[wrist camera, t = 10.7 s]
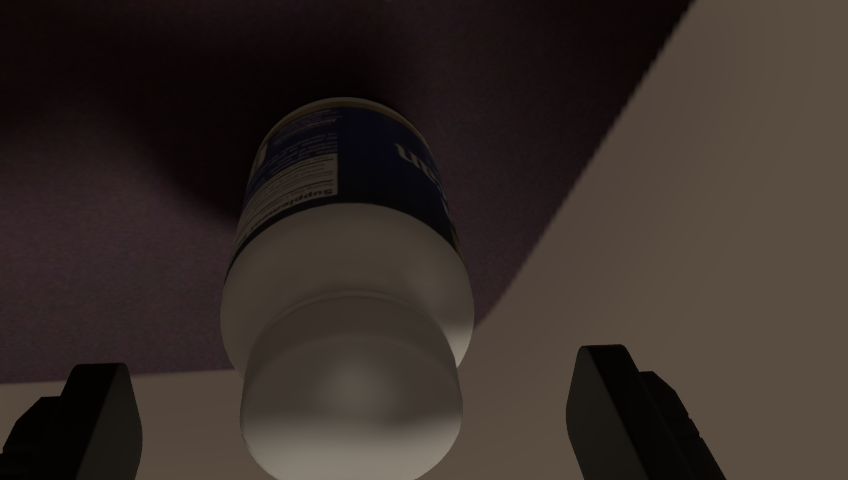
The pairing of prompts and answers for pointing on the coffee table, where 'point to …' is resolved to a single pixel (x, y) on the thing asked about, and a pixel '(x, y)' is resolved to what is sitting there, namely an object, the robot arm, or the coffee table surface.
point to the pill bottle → (347, 299)
